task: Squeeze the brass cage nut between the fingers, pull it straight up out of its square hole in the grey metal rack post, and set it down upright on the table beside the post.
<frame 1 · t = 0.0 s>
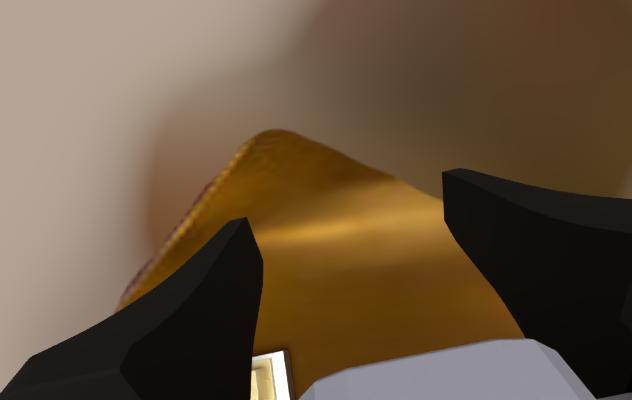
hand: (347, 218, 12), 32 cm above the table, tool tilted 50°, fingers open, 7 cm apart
cage nut: (260, 382, 39), resting in rack post
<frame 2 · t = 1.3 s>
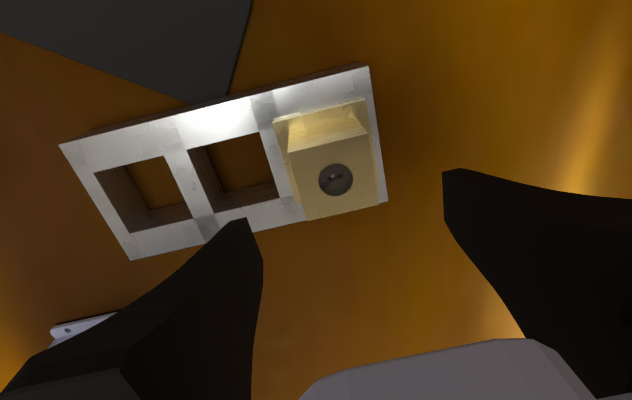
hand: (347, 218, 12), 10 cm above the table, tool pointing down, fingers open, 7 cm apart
rack post: (242, 157, 21), on the table
cage nut: (323, 137, 21), resting in rack post
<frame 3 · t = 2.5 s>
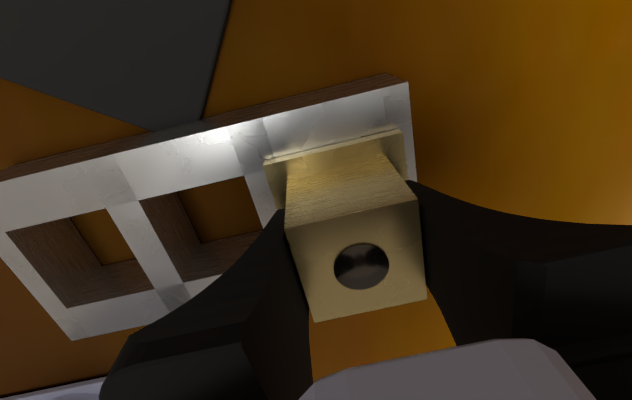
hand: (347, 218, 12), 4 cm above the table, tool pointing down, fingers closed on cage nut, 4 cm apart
rack post: (225, 200, 16), on the table
cage nut: (334, 174, 16), resting in rack post, touching gripper
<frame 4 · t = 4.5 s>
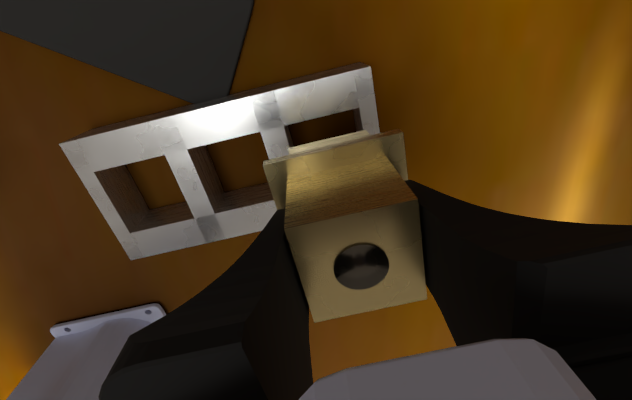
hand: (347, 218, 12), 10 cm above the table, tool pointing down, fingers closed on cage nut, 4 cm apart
rack post: (243, 157, 21), on the table
cage nut: (334, 174, 16), point 6 cm above the table, touching gripper
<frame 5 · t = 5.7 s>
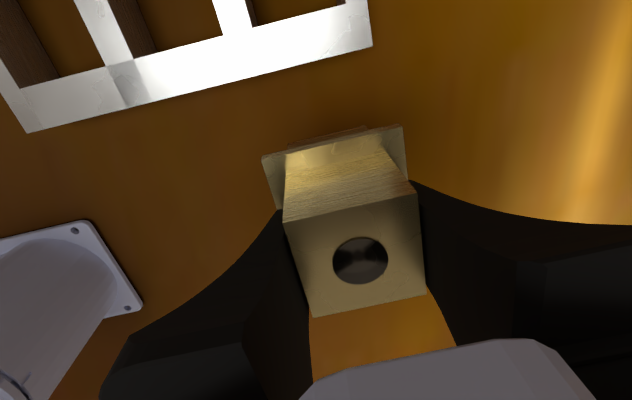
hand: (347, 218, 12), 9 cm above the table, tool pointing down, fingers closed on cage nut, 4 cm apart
rack post: (180, 0, 16), on the table
cage nut: (334, 170, 15), point 5 cm above the table, touching gripper
when the fingers open (5 cm above the table, at t = 6.6 s): cage nut drops 1 cm, on the table.
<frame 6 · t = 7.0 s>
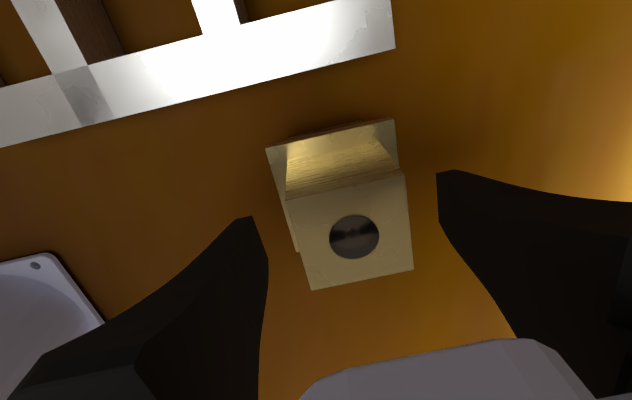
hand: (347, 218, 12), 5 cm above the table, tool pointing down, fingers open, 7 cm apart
cage nut: (331, 161, 17), on the table
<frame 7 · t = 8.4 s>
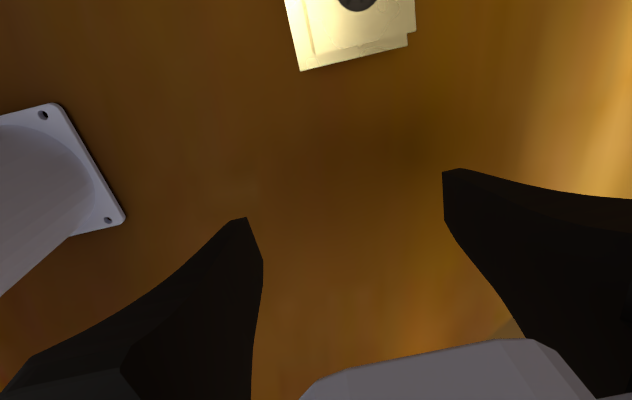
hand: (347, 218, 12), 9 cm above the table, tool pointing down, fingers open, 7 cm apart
cage nut: (334, 3, 17), on the table
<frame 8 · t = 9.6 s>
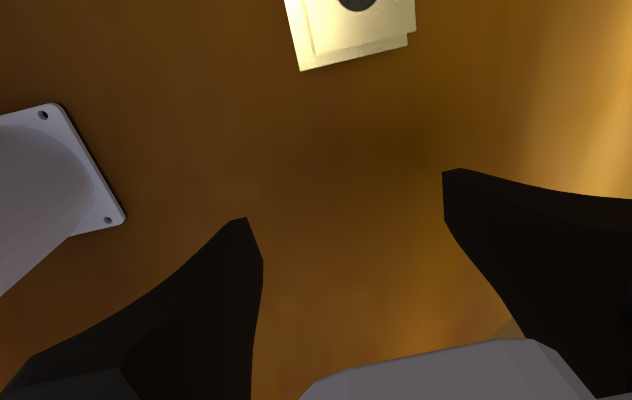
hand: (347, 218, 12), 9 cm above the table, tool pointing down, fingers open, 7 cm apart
cage nut: (334, 3, 17), on the table
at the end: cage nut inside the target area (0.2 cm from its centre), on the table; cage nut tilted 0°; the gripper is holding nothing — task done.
